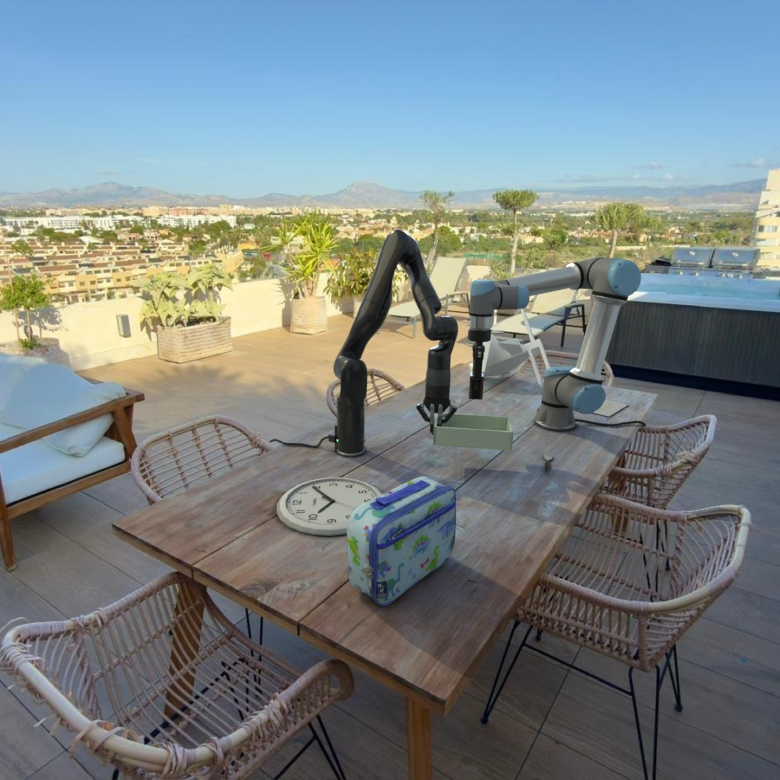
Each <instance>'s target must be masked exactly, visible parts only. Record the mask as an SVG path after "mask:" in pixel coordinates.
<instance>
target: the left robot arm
mask: <svg viewBox="0 0 780 780" xmlns="http://www.w3.org/2000/svg"><path fill="white" fill-rule="evenodd" d="M399 265H400V266H401V267H402V269H403V270H404V271H405V273H406V275H407V278H408V279H409V284H410V292H411V296H412V298H413V301H414V303H415V305H416V307H417V310H418V311H419V315H420V321H421V322H420V323H421V329H422V333H423V336H424V337H425V338H426V339H427V340H429V341H432V342H436V341H438V343H437V344H436V345H435V346H432V347H431V348H429V349H428V351H427V361H426V362H427V363H426V371H425V378H424V380H425V389H424V398H423V400H422V402H420V403H417V404H416V407H415V408H416V410H417V411H418V414H419V415H420V417H422V419H423V421H424V422H425V423H427V422H428V423H429V433H430V434H431V435H432V436H433V433H434V422H435V414H436V413H438V422H437V426H439V427H441V424H442V423H447V422H448V420H449V419H450V418H451V417H452V416H453V414H454V413H456V412H457V410H458V406H457V405H454V404H453V403H452V402H451V399H450V394H451V393H450V392H451V381H452V380H451V379H452V377H451V375H452V374H451V362H452V353H453V350H454V347H455V344H456V342H457V339H458V335H459V324H458V321H457V319H456V318H455V317H454V316H453V315H442V316H441V315H440V316H436V315H437V314H438V313H440V311H442V308H443V304H442V302H441V300H440V297H439V295H438V293H437V291H436V289H435V287H434V285H433V283H432V281H431V278H430V276H429V275H428V271H427V269H426V265H425V263H424V259H423V255H422V252H421V249H420V246H419V244H418V242H417V240H416V239H415V238H414V237H412V236H411V235H410V234H408V233H407V232H406V231H404V230H402V229H400V228H395V229H393V230H391V231H390V232H389V233H388V234H387V235H386V236H385V239H384V241H383V243H382V245H381V249H380V252H379V255H378V258H377V262H376V265H375V268H374V271H373V273H372V276H371V279H370V282H369V284H368V287H367V288H366V291H365V293H364V295H363V298H362V300H361V302H360V305H359V307H358V310H357V312H356V315H355V317H354V320H353V322H352V324H351V327H350V330H349V332H348V335H347V337H346V339H345V341H344V342H343V345H342V346H341V348H340V350H339V352H338V354H337V355H336V357H335V360H334V361H333V365H332V371H333V374H334V376H335V378H337V379H338V380H339V381H340V382H339V383H340V387H339V389H340V390H339V393H338V394H336V423H335V424H334V427H333V428H334V429H333V430H334V431H333V432H331V433H329V434H328V435H326V436H324V437H322V438H321V439H320V441H319V442H318V444H316V445H312V444H307V443H301V442H285V441H282V440H280V439H278V438H273V439H271V440H269V443H273V442H277V443H280V444H282V445H285V446H286V445H287V446H303V447H308V448H313V449H315V448H319V447H321V445H322V442H323V441H324V440H327V441H328V442H330V443H332V444H334V452H337V454H338V455H340V456H343V457H358V456H361V455H363V454H364V453H365V452H366V447H365V444H366V440H367V438H366V437H365V434H366V433H365V425H366V424H365V418H366V417H365V415H366V414H365V413H366V411H365V409H366V407H365V404H366V401H365V399H366V397H367V394H368V366H367V364H366V362H365V361H364V360H362V357H363V355H364V352H365V349H366V347H367V345H368V343H369V342H370V341H371V339H372V338H373V337H374V336H375V335H376V334H377V333H378V332H379V330H380V329H381V328H382V327H383V325H384V324H385V322H386V320H387V317H388V315H389V312H390V310H391V307H392V303H393V281H394V275H395V272H396V270H397V267H398V266H399ZM425 408H426V409H427V411H428V412H429V415H428V413H427V412H426V410H425ZM447 409H448V412H446V410H447ZM445 412H446V413H447V414H446V416H445V417H444V418H442V413H445ZM365 438H366V439H365Z"/></svg>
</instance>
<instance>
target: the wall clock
mask: <svg viewBox="0 0 780 780" xmlns="http://www.w3.org/2000/svg"><path fill="white" fill-rule="evenodd" d="M381 494H384V492H382V491H381V490H380V489H379V488H377V487H376V486H374V485H372V484H371V483H369V482H365V481H362V480H359V479H355V478H349V477H338V476H337V477H335V476H333V477H332V476H331V477H322V478H317V479H312V480H307V481H305V482H302V483H299V484H297V485H295V486H293V487H292V488H290V489H288V490H287V491H286V492H285V493H284V494H283V495H281V496H280V498H279V499H278V502H277V503H276V515H277V517H278V518H279V520H280V521H281V522H282V523H283V524H285V525H286V526H287V527H288V528H290V529H293V530H295V531H297V532H299V533H303V534H308V535H312V536H327V537H328V536H329V537H331V536H332V537H333V536H342V535H347V525H348V521H349V518H350V516H351V514H352V513H353V511H354V510H355V509H356V508H357V507H358V506H360V505H362V504H363V503H365V502H368V501H370V500H372V499H374V498H376V497H378V496H380V495H381Z"/></svg>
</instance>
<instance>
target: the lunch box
mask: <svg viewBox="0 0 780 780" xmlns="http://www.w3.org/2000/svg"><path fill="white" fill-rule="evenodd" d="M456 524H457V494H456V490H455V488H454V487H453V486H451V485H444V484H441V483H440V482H438V481H436V480H434V479H432V478H431V477H428V476H422V475H421V476H419V477H416V478H413V479H411V480H408V481H407V482H404V483H402V484H400V485H398V486H396V487H394V488H392V489H390V490H388V491H386V492H383V494H381V495H380V496H378V497H376V498H374V499H372V500H370V501H368V502H365V503H363V504H362V505H360V506H358V507H357V508H356V509H355V510H354V511H353V513H352V514H351V516H350V518H349V521H348V525H347V534H346V545H347V546H346V548H347V570H348V572H347V573H348V581H349V583H350V585H351V587H353V588H354V589H356V590H358V591H361V592H362V593H364V594H365V595H366V596H368V597H369V598H371V599H372V601H373V602H374V603H375V604H378V605H379V606H383V607H386V606H388V605H390V604H392V603H394V601H396V600H397V599H398V598H399V597H400V596H402V595H403V594H404V593H406V592H407V591H408V590H410V589H411V588H413V587H414V586H415V585H417V584H418V583H419V582H421V580H422V579H424V577H426V576H427V575H430V573H432V572H434V571H435V570H436V569H438V568H440V567H441V566H442V565H444V563H446V562H447V561H448V559H449V558H450V556H451V554H452V552H453V549H454V546H455V542H456V529H457V525H456Z"/></svg>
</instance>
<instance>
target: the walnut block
mask: <svg viewBox="0 0 780 780" xmlns="http://www.w3.org/2000/svg"><path fill="white" fill-rule="evenodd" d="M473 375H474V373H471V372H469V380H468V400H472V399H471V397H472V382H473V381H471V379H473ZM481 378H482V380H481V388H480V400H479V401H483V398H484V383H485V377H484V374H483V373H482V377H481Z"/></svg>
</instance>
